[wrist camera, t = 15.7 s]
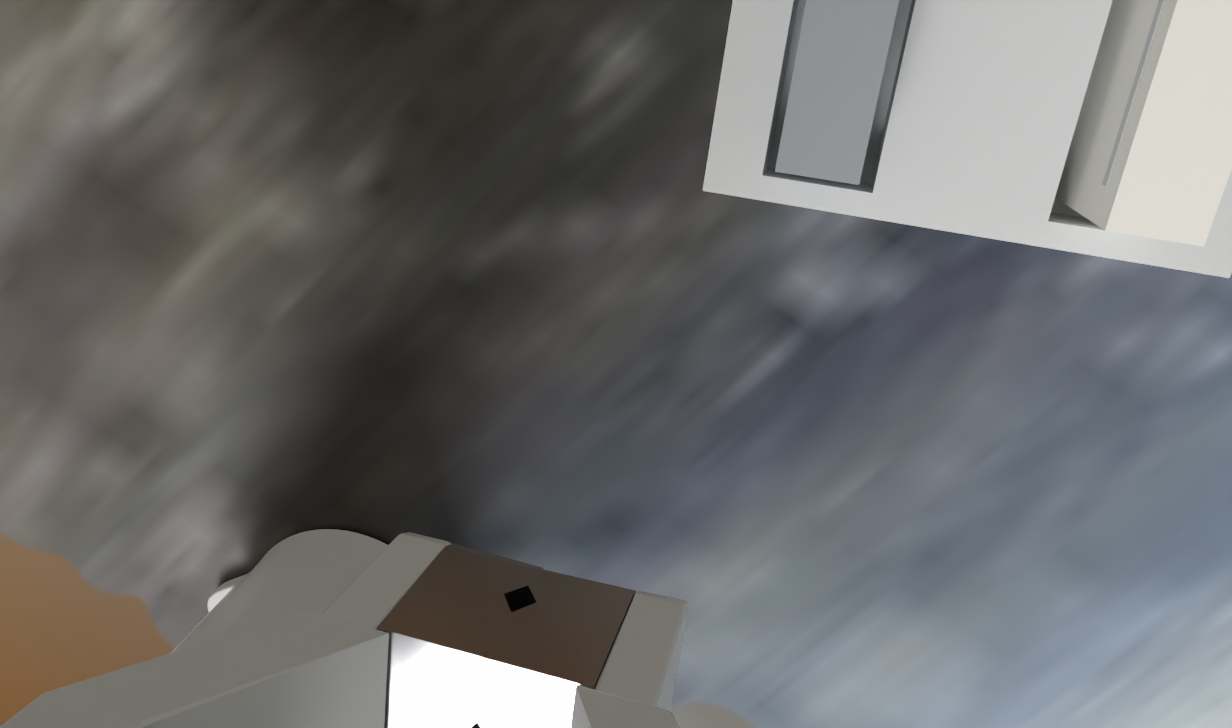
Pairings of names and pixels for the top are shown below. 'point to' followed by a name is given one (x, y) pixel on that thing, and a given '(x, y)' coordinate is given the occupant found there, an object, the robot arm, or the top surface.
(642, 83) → the top surface
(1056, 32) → the rack
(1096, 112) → the panel
